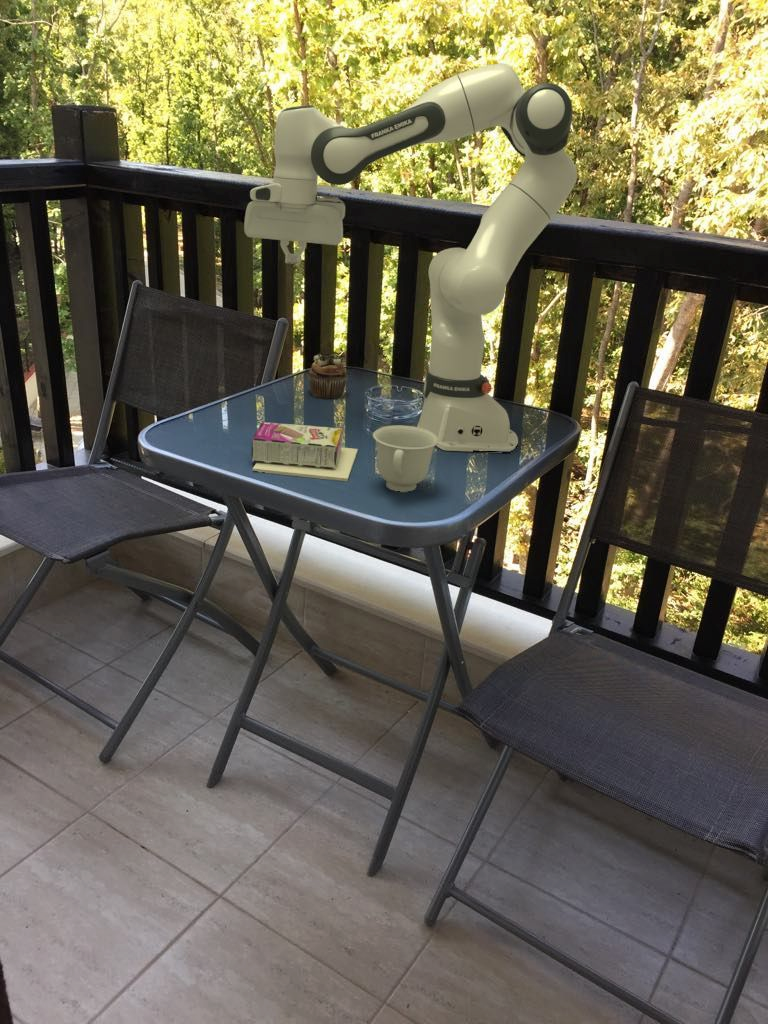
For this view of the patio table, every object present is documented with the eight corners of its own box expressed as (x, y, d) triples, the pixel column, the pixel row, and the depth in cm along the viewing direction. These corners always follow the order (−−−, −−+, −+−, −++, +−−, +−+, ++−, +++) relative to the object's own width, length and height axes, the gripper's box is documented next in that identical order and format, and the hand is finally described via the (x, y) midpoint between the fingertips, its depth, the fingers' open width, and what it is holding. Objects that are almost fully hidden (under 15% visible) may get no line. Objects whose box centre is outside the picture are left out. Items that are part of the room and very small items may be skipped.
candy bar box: (261, 419, 173) (343, 427, 172) (261, 443, 175) (341, 450, 174) (251, 437, 162) (337, 446, 162) (250, 462, 164) (336, 470, 164)
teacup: (360, 500, 154) (363, 447, 150) (375, 470, 167) (379, 421, 163) (426, 509, 152) (432, 457, 148) (437, 479, 166) (442, 429, 162)
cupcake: (353, 398, 208) (355, 357, 204) (315, 401, 204) (317, 360, 200) (337, 387, 216) (339, 347, 212) (301, 389, 212) (302, 349, 208)
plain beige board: (357, 451, 176) (357, 448, 176) (347, 481, 161) (347, 478, 161) (270, 442, 177) (270, 439, 176) (252, 471, 162) (252, 468, 162)
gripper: (348, 196, 177) (344, 265, 182) (249, 187, 178) (249, 256, 183) (343, 199, 171) (340, 270, 177) (242, 189, 172) (241, 261, 178)
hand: (292, 263), depth 180 cm, fingers closed
